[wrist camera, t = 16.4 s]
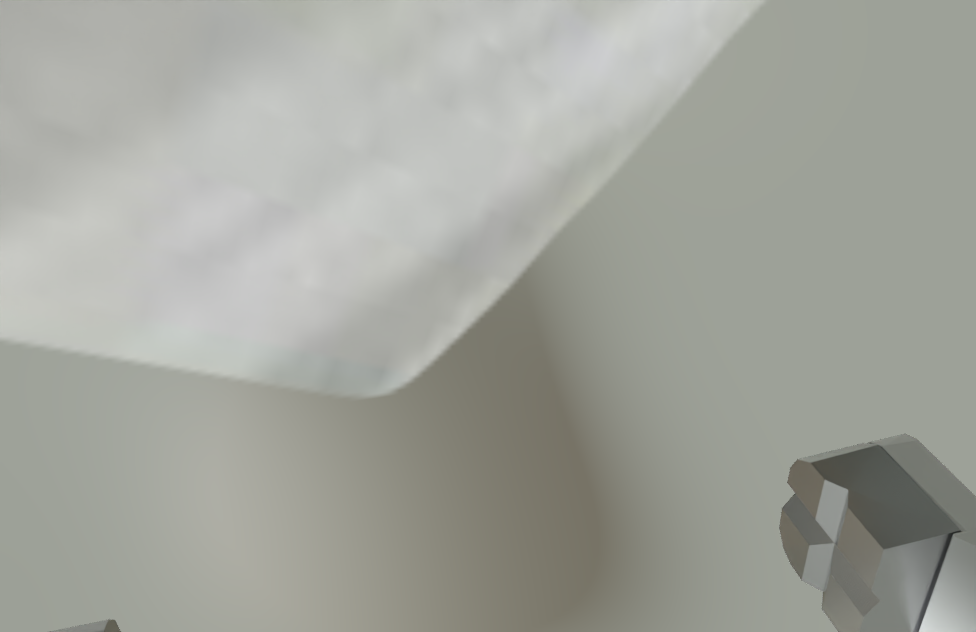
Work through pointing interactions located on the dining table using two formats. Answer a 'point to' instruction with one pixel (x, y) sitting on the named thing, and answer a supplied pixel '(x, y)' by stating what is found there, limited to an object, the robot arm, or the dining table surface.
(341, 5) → the dining table surface
